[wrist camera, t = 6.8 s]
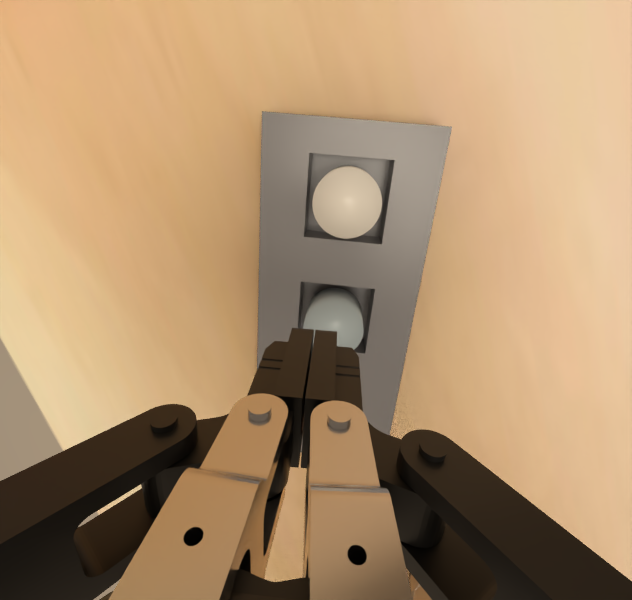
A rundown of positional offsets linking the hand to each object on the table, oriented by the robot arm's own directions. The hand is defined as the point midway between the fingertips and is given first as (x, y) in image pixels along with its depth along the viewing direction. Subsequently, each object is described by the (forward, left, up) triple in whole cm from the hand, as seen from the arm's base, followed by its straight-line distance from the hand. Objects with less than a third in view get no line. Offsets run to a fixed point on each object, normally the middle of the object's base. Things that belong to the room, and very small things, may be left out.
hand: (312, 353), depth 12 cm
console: (-1, +6, -18) cm, 19 cm away
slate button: (-1, +6, -16) cm, 17 cm away
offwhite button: (-1, -3, -16) cm, 16 cm away
